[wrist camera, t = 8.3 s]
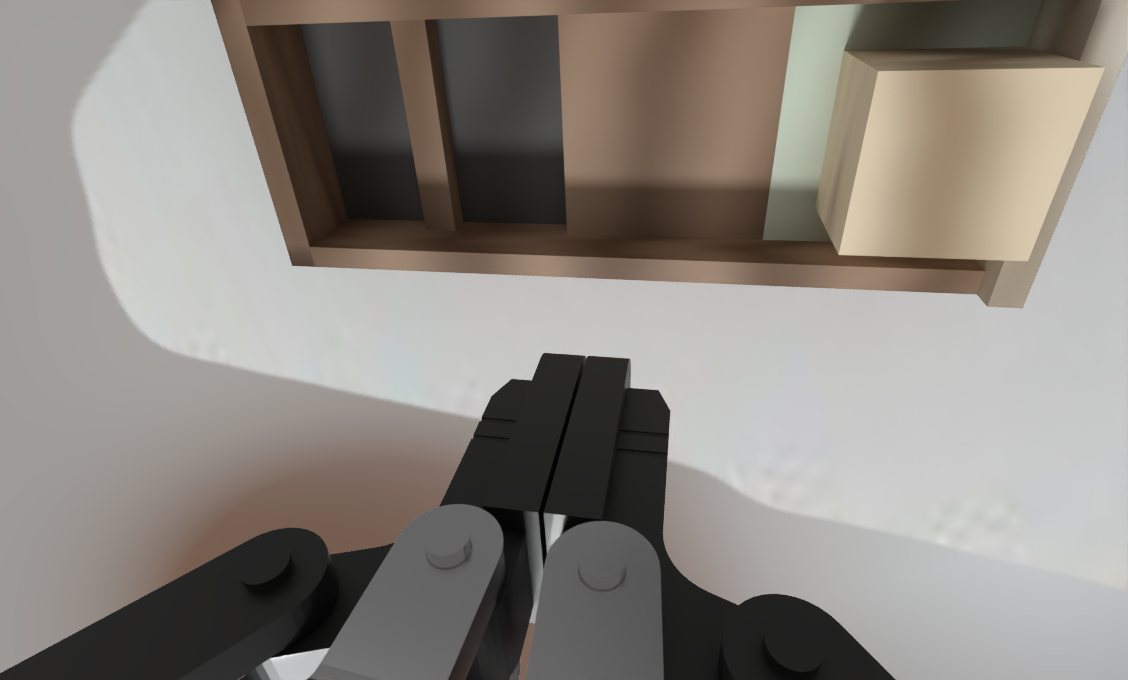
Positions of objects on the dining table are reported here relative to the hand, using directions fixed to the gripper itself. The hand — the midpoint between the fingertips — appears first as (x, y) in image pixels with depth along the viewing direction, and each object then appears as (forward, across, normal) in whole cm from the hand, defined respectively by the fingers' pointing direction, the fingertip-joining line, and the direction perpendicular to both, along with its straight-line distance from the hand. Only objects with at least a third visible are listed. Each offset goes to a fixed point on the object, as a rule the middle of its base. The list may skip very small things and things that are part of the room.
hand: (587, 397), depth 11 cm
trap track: (+19, +1, 0) cm, 19 cm away
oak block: (+18, -10, 0) cm, 20 cm away
